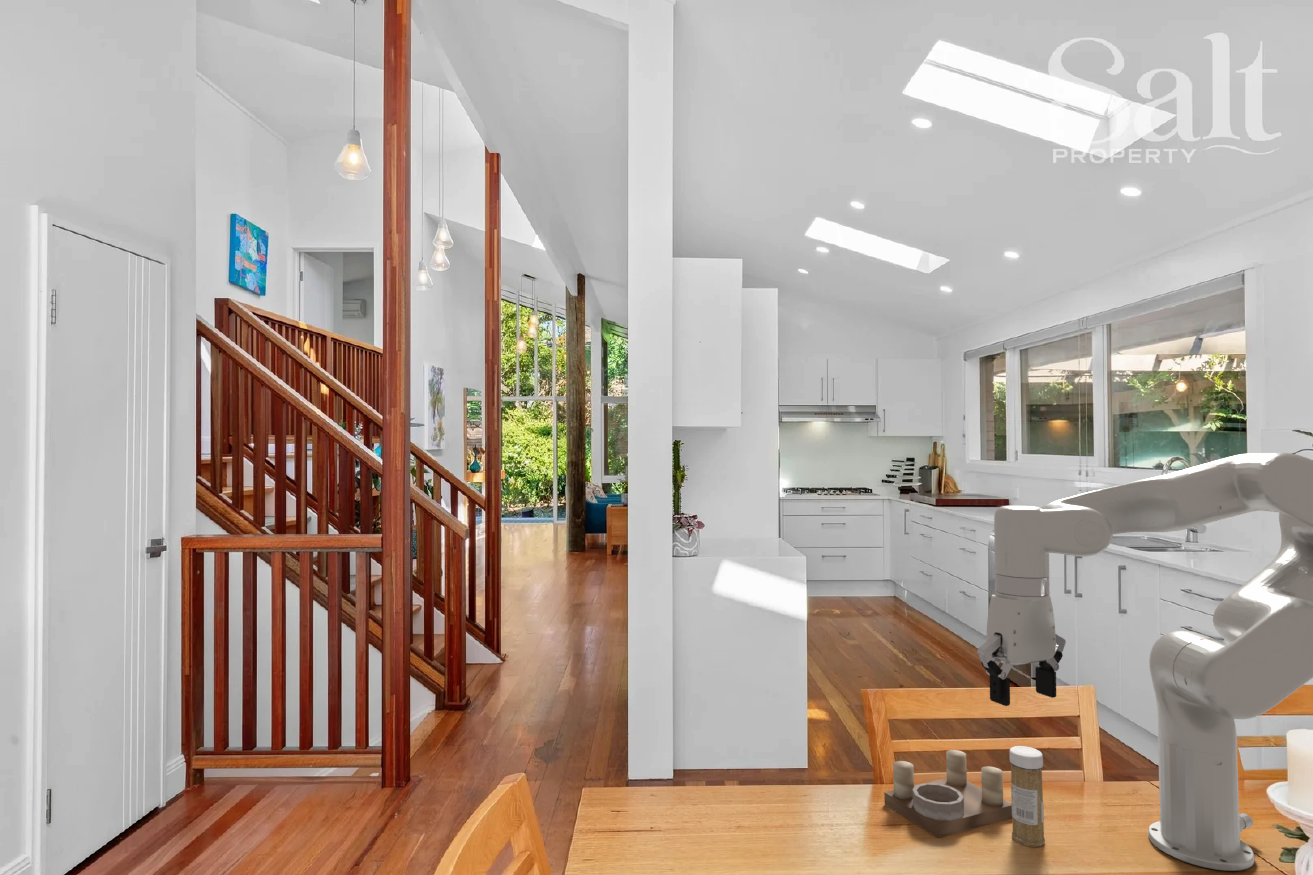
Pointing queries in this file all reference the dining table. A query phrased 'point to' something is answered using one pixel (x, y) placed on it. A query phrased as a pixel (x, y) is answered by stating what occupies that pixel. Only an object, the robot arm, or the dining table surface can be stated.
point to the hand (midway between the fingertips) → (1023, 698)
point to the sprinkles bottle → (1027, 796)
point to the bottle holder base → (949, 797)
